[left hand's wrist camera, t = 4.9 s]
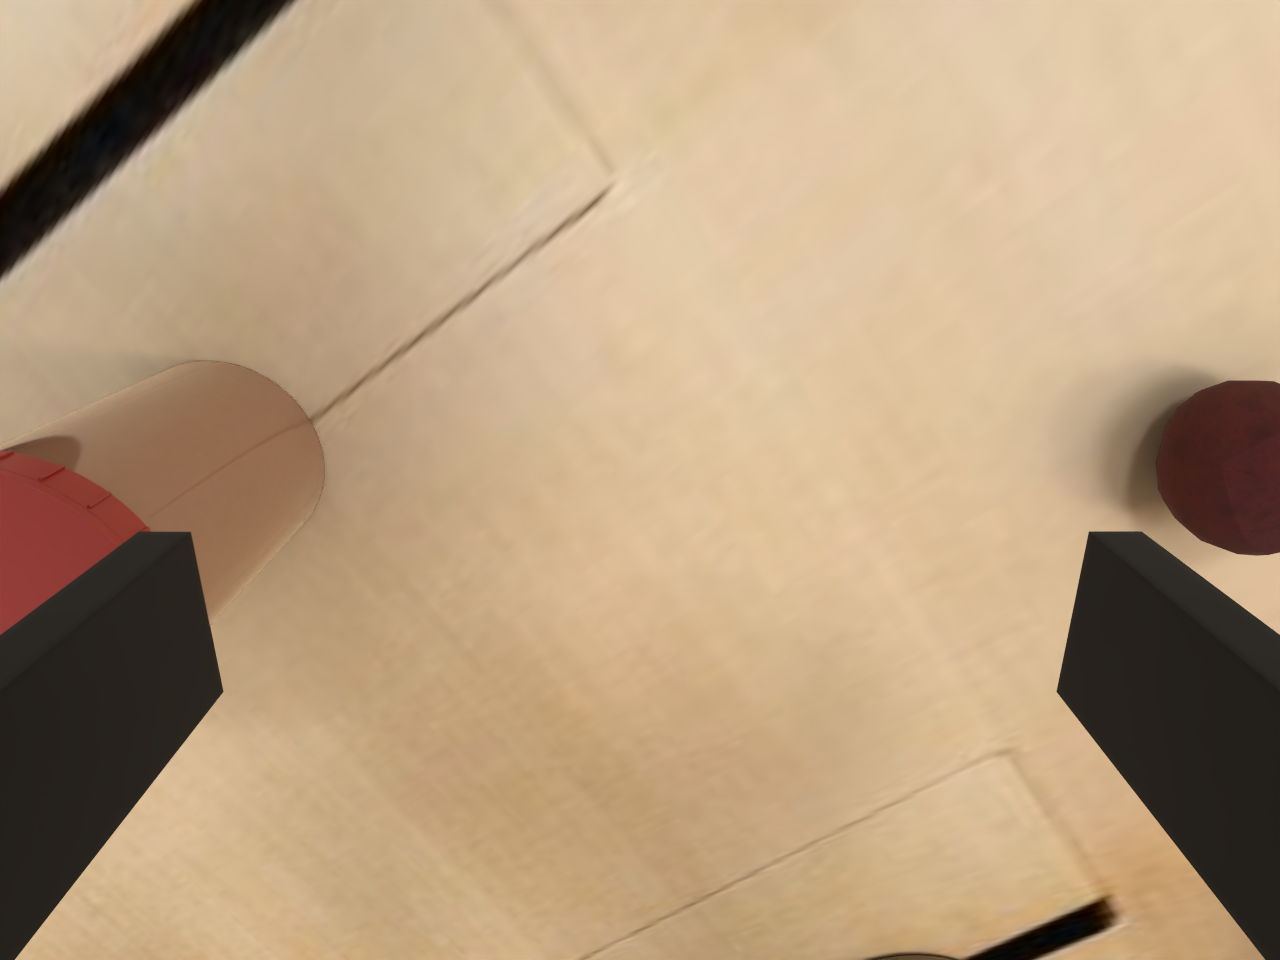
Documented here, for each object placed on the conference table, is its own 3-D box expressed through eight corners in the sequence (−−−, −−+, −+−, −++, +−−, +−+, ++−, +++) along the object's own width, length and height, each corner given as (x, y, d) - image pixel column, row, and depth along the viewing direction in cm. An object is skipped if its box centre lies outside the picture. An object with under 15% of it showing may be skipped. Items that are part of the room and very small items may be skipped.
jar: (330, 380, 40) (154, 508, 26) (319, 562, 44) (158, 766, 29) (120, 343, 40) (-183, 452, 25) (126, 530, 43) (-139, 723, 28)
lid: (192, 479, 27) (164, 498, 25) (191, 759, 30) (168, 791, 29) (-169, 418, 26) (-219, 434, 24) (-124, 713, 30) (-165, 743, 28)
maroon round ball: (1159, 540, 43) (1254, 610, 36) (1097, 416, 41) (1186, 466, 34) (1304, 463, 41) (1429, 521, 35) (1248, 330, 39) (1372, 365, 33)
